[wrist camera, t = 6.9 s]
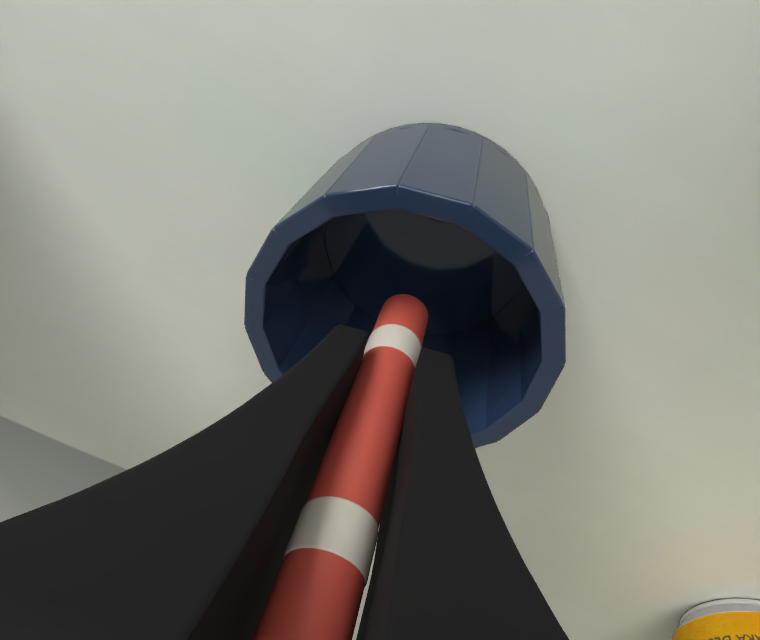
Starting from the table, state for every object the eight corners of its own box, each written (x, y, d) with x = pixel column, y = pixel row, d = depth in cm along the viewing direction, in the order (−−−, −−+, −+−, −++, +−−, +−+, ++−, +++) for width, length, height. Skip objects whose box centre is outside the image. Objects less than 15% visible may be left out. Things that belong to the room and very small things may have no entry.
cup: (305, 306, 18) (240, 409, 14) (330, 94, 14) (248, 145, 10) (501, 361, 18) (499, 486, 13) (589, 159, 14) (630, 245, 9)
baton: (376, 326, 13) (244, 670, 6) (386, 286, 12) (247, 630, 6) (422, 338, 13) (336, 702, 6) (434, 299, 12) (350, 664, 6)
